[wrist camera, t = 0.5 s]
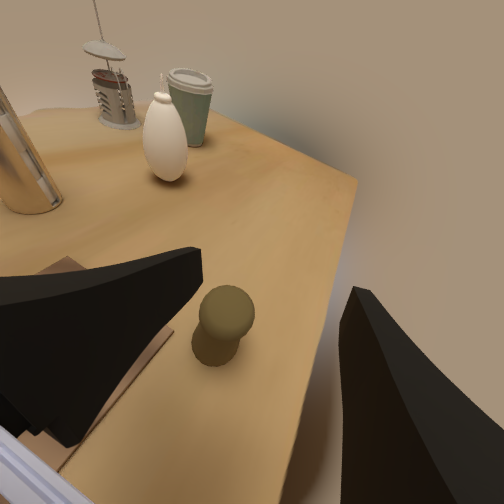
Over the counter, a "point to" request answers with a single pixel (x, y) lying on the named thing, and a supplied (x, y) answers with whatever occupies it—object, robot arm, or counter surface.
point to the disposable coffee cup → (191, 101)
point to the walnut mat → (59, 454)
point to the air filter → (22, 168)
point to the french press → (112, 87)
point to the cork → (222, 324)
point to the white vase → (164, 138)
